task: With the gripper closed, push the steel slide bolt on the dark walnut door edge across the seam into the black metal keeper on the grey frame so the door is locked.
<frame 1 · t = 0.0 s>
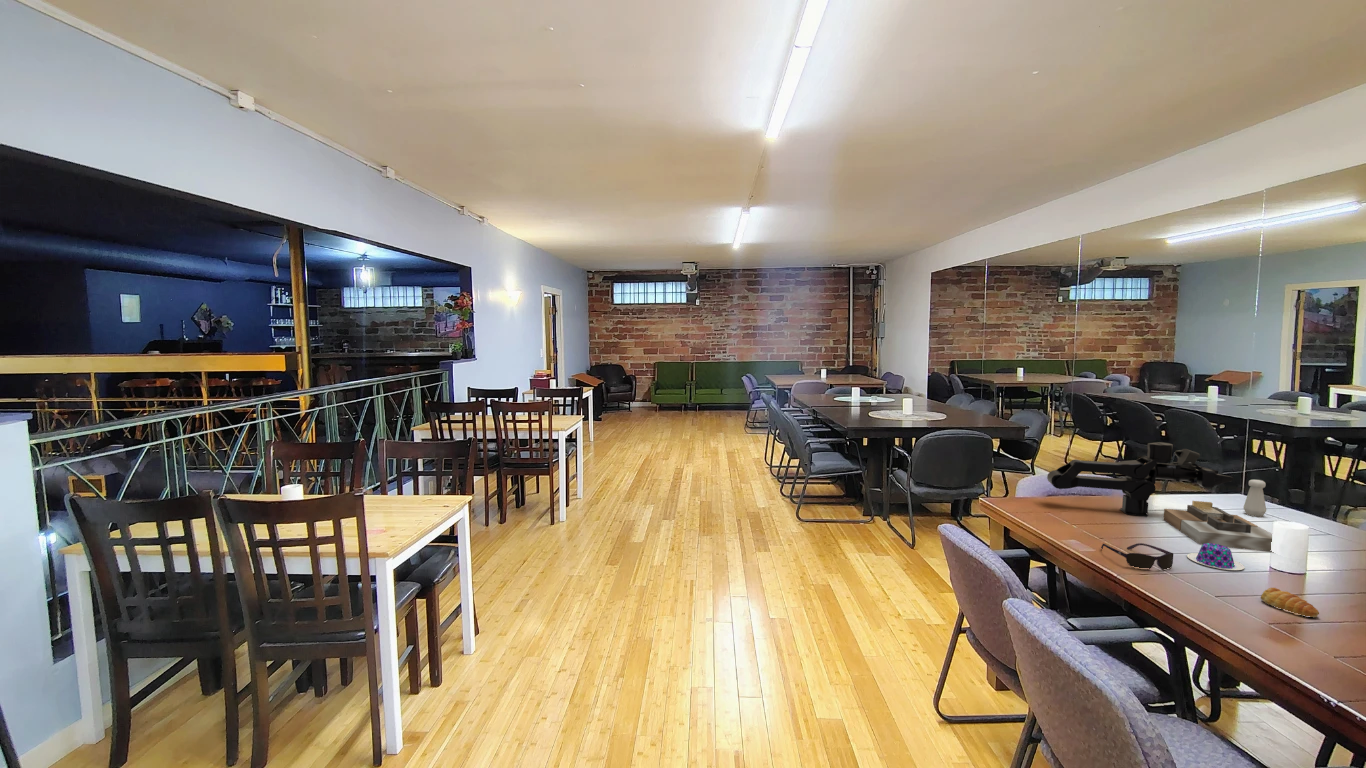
hand: (1225, 475, 190), 17 cm above the table, tool horizontal, fingers open, 9 cm apart
salt shaker: (1254, 515, 198), on the table
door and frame: (1218, 534, 179), on the table
pastry: (1287, 609, 132), on the table
purple patterned hat: (1214, 564, 158), on the table
sunglasses: (1133, 560, 160), on the table
bolt: (1207, 509, 185), point 6 cm above the table, slide at 0.0 cm
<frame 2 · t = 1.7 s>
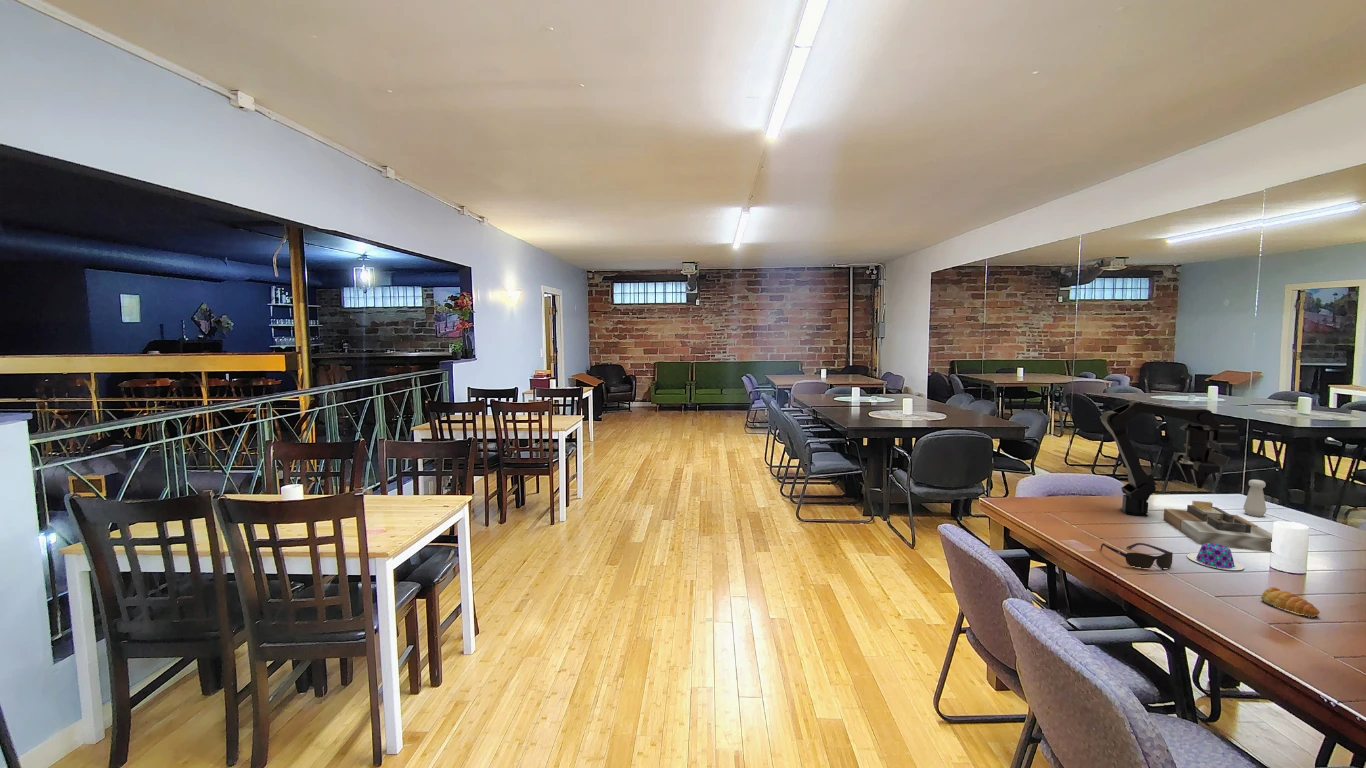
hand: (1194, 485, 194), 12 cm above the table, tool pointing down, fingers open, 6 cm apart
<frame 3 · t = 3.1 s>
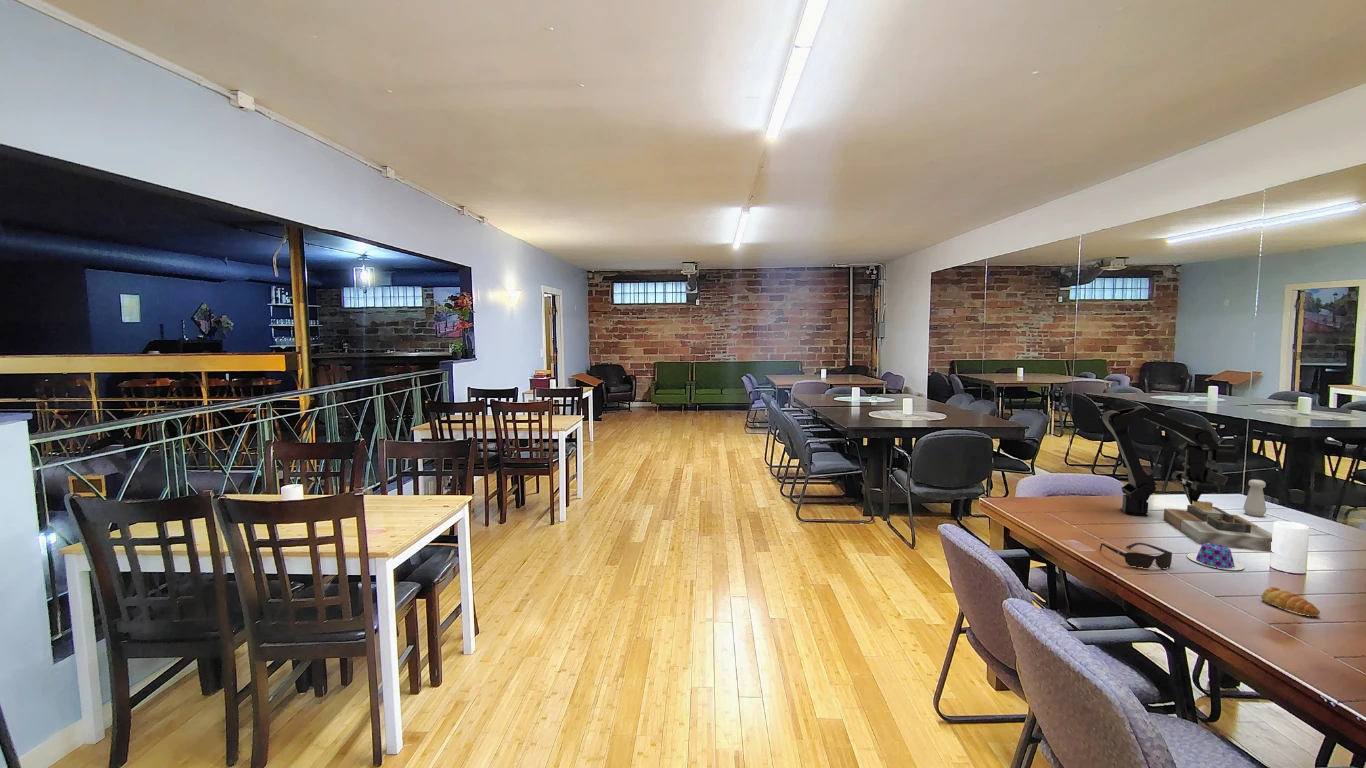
hand: (1192, 504, 194), 5 cm above the table, tool pointing down, fingers closed
nothing on the table moved.
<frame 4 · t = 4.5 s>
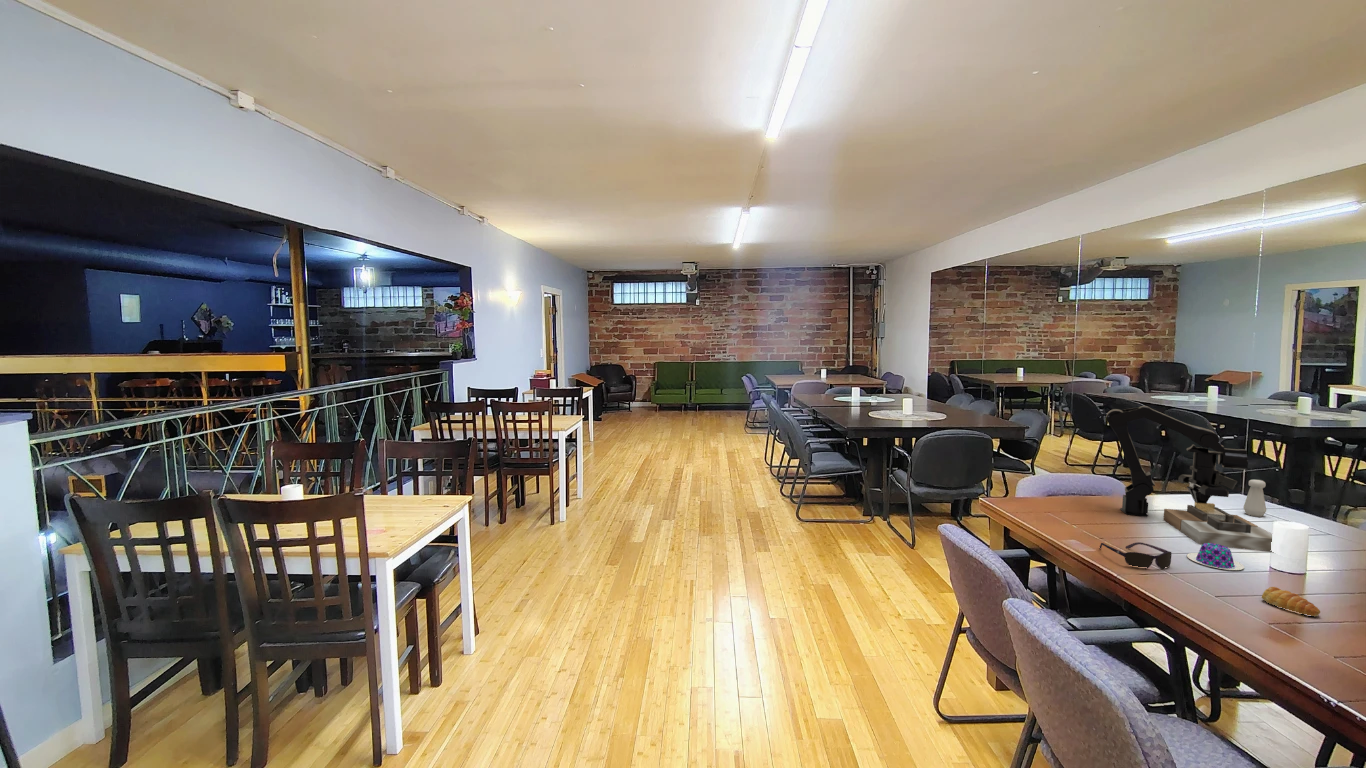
hand: (1200, 509, 189), 5 cm above the table, tool pointing down, fingers closed
bolt: (1209, 511, 184), point 6 cm above the table, slide at 1.5 cm, touching gripper
everything else where it was.
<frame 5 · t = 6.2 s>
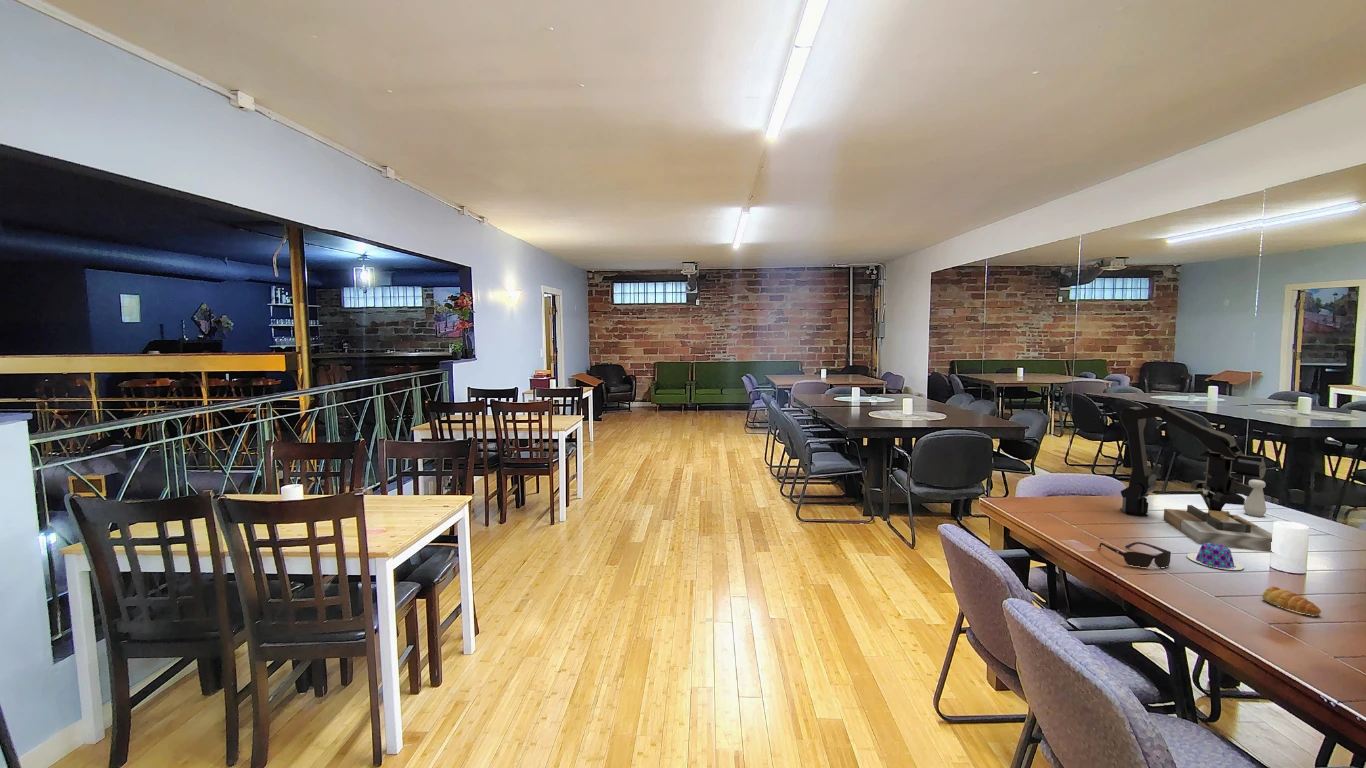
hand: (1214, 517, 181), 5 cm above the table, tool pointing down, fingers closed
bolt: (1224, 519, 176), point 6 cm above the table, slide at 10.1 cm, touching gripper
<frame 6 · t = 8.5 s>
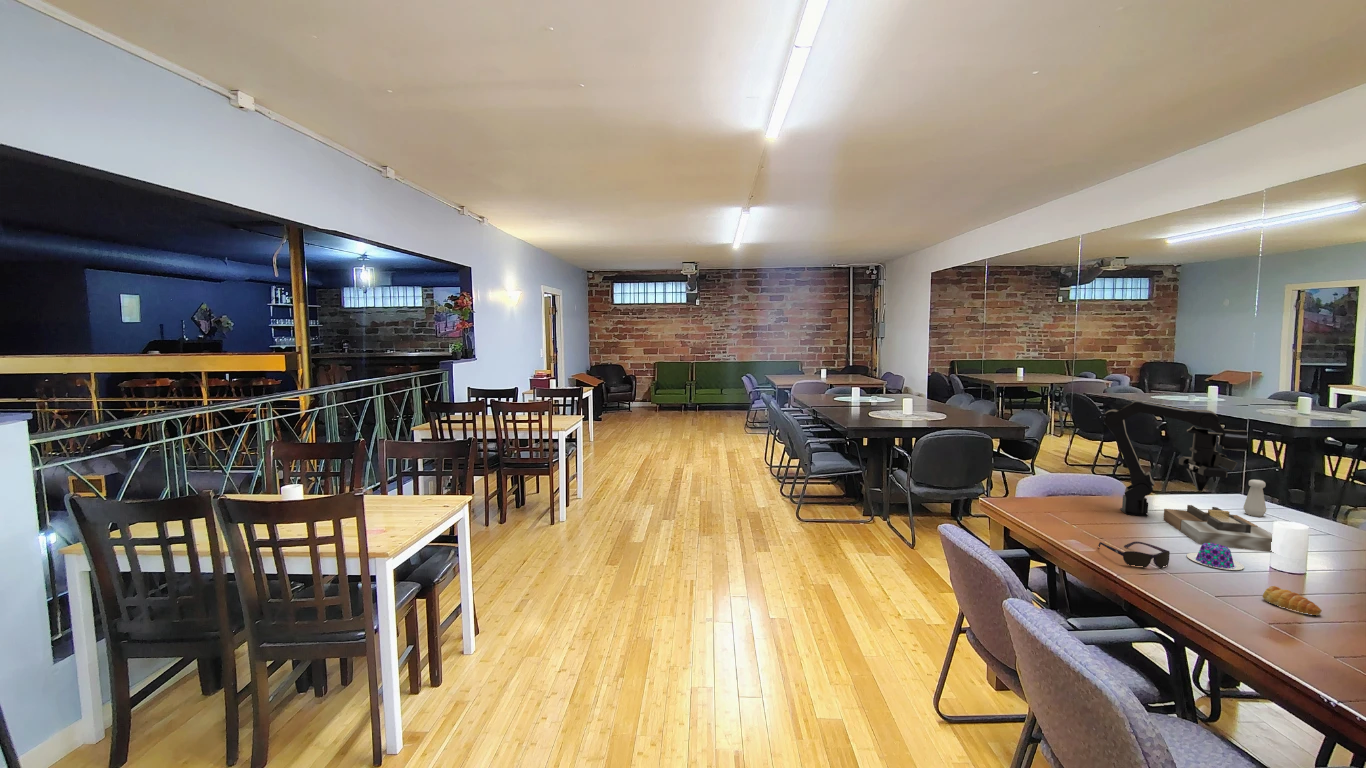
hand: (1199, 490, 188), 12 cm above the table, tool pointing down, fingers closed
bolt: (1224, 519, 176), point 6 cm above the table, slide at 10.0 cm
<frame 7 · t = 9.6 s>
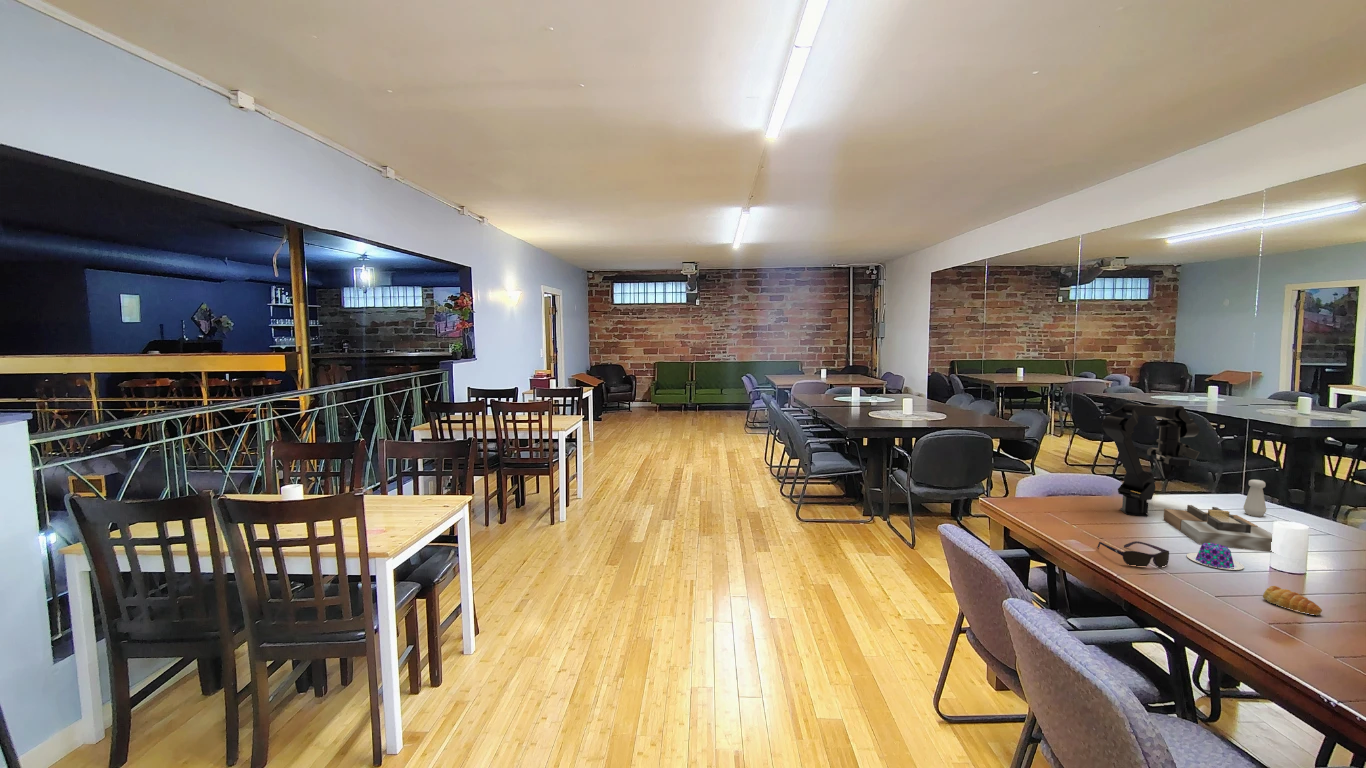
hand: (1166, 479, 203), 12 cm above the table, tool pointing down, fingers closed
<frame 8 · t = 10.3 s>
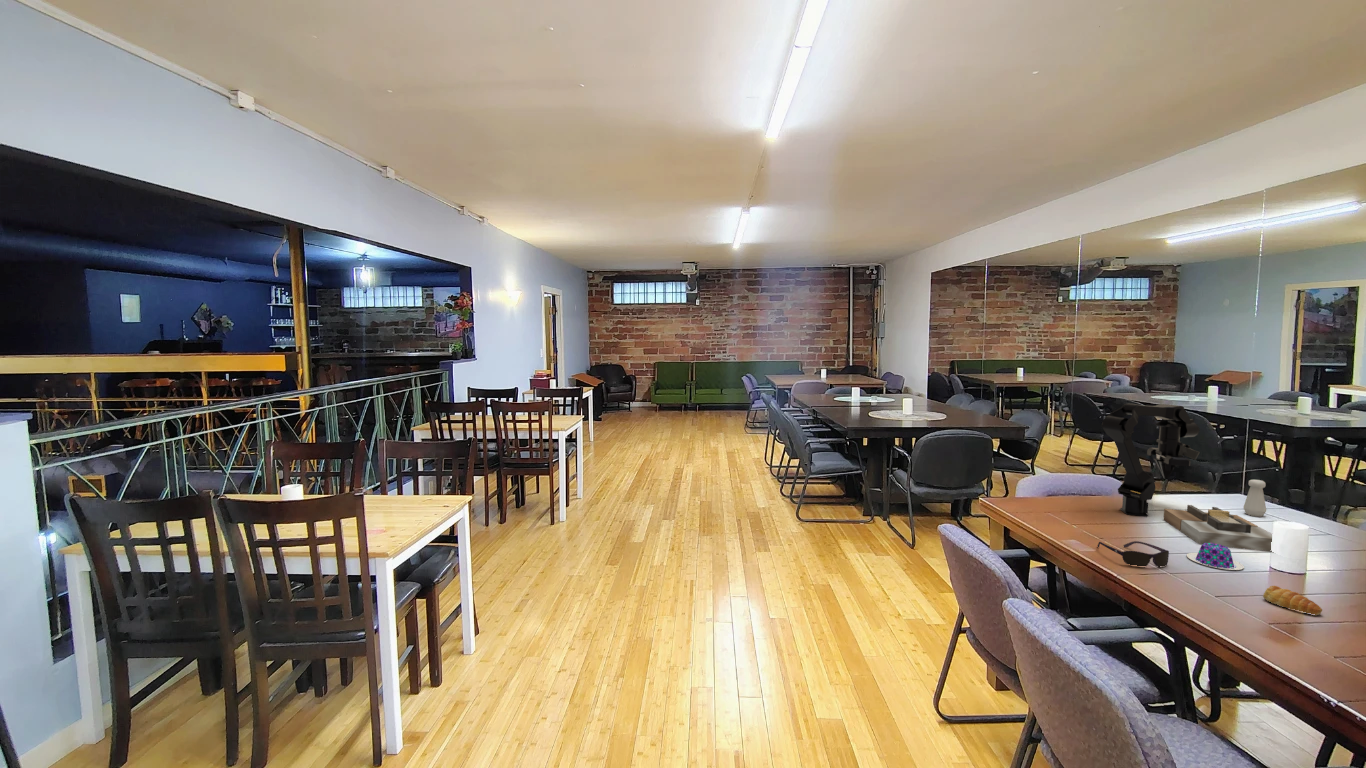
hand: (1166, 479, 203), 12 cm above the table, tool pointing down, fingers closed
at the end: bolt slide at 10.0 cm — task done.
